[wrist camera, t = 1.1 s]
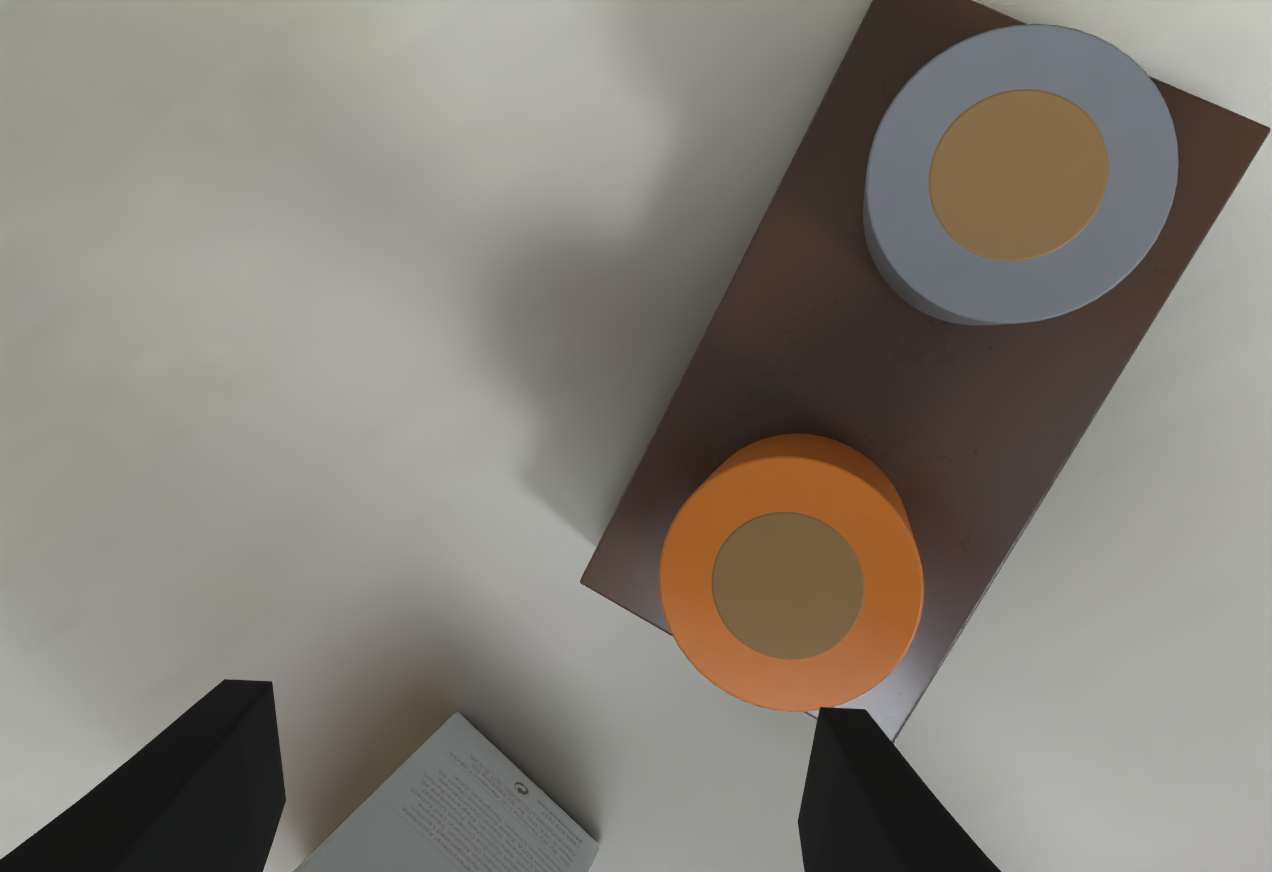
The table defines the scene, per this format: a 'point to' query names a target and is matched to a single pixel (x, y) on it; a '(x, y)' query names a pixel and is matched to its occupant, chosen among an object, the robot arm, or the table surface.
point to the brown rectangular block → (904, 354)
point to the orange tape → (793, 575)
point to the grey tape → (1018, 176)
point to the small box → (456, 817)
